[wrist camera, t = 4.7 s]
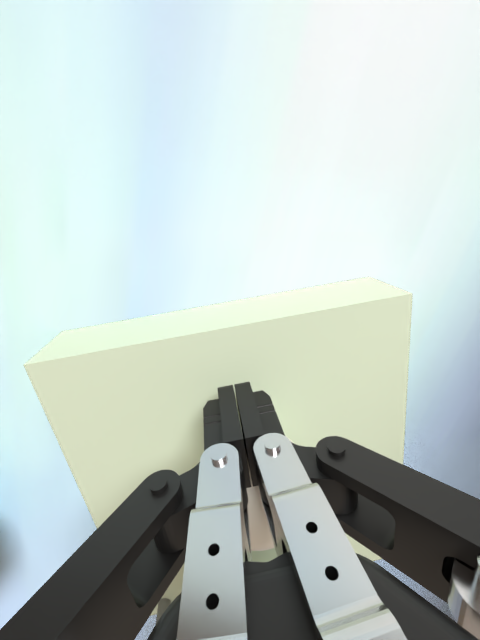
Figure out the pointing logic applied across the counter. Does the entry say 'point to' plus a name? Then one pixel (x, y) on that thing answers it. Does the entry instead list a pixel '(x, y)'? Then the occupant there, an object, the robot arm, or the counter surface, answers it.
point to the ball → (257, 518)
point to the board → (225, 384)
